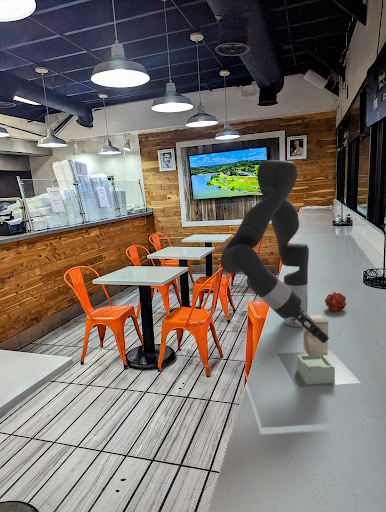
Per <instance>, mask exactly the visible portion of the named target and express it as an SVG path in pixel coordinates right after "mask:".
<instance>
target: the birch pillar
mask: <svg viewBox="0 0 386 512" xmlns="http://www.w3.org/2000/svg"><path fill="white" fill-rule="evenodd" d="M308 316H309V317H310V318H311V319H312V320H314V322H315V325H316V326H317V327H319V328H320V329H321V331H322V332H323V333H324V334H326V335H327V336H328V337H329V320H327V319H326V318H325V317H324V316H323V315H321V314H317V315H315V314H314V315H308ZM308 319H309V318H308ZM310 321H311V320H310ZM328 341H329V339H328V340H327V341H326V342H325V343H322V342H321V341H320V340H319V339H318V338H317V337H315V336H313V335H312V334H311V333H310V332H309V331H308V330H305V329H304V328H303V350H304V352H307V354H308V355H309V356H325V355H327V351H328V350H329V349H328V345H329V342H328Z"/></svg>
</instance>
